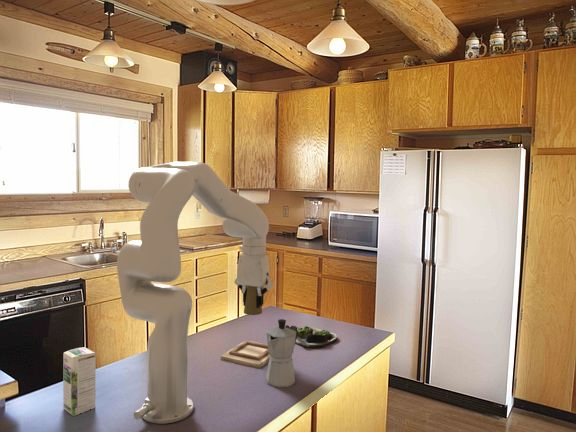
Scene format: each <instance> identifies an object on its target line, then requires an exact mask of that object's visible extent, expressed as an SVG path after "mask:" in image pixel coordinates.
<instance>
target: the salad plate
mask: <svg viewBox="0 0 576 432" xmlns="http://www.w3.org/2000/svg"><path fill="white" fill-rule="evenodd" d="M296 327H297V330H298V335H297V339H296V342H295V344H296V345H300V346H301V345H302V346H301V347H304V348H308V349H321V348H324V347H328V346H330V345H332V344H334V343H335V342H336V341H338V335H337V334H336V333H334V332H330V331H328V330H325V329H321V328H317V327H311V326H310V327H309V326H307V325H304V326H301V327H299V326H296ZM313 332H315V333H313ZM328 340H329V341H328Z"/></svg>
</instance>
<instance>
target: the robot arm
mask: <svg viewBox="0 0 576 432" xmlns="http://www.w3.org/2000/svg"><path fill="white" fill-rule="evenodd" d="M128 190H129V192H130V194H131V196H132V197H133V198H134V199H135V200H137V201H139V202H141V203H148V205H147V206H146V208H145V209H144V211H143V212H142V215H141V217H140V222H139V232H140V233H139V234H140V239H135V240H134V239H133V240H129V241H128V242H126V243H125V244H124V245H122V247H121V248H120V251H119V253H118V255H117V259H116V260H117V261H116V270H117V271H116V272H117V277H118V283H119V284H118V285H119V291H120V297H121V303H122V307H123V310H124V311H125V313H126V314H127V315H128V316H129V317H130V318H133V319H135V320H139V321H144V322H149V323H152V324H154V328H153V330H152V332H151V333H150V335H149V337H148V340H147V345H146V346H147V397H146V398H145V399H144V403H143V404H142V405H141V408H139V409H137V410H136V411H134V413H133V418H134V419H135V420H136V421H139V420H140V419H141V418H143V419H144V420H145V421H146V422H149V423H152V424H158V425H159V424H160V425H161V424H171V423H176V422H179V421H182V420H184V419H186V418H187V417H189V416H191V414H192V413H193V411H194V402H193V400H192V399H191V398H189V397H188V353H189V351H188V341H189V340H188V339H189V338H188V334H189V326H190V325H189V324H190V320H191V314H192V309H193V299H192V296H191V294H190V293H189V292H188V290H185V289H184V288H182V287H180V286H178V285H172V284H166V283H172V282H174V281H175V280H177V279H178V278H179V276H180V275H181V271H182V258H181V249H180V240H179V238H180V237H179V229H178V228H179V227H178V225H179V224H178V223H179V218H180V215H181V213H182V211H183V209H184V208H185V206H186V205H187V203H188V202H189V201H190V199H191V198H192V197H194V198H195V199H196V201H198V202H199V203H200V204H201V206H203V207H204V209H205V210H206V211H207V212H208V213H210V214H211V215H214V216H217V217H219V218H223V221H222V229H223V232H224V233H225V234H226V235H228V236H229V237H233V238H240V239H242V245H240V246H239V250H241V254H239V256H238V257H239V258H238V263H237V270H236V278H235V279H234V281H233V283H234V284H235V285H236V286H237V287H238V288H239V290H240V292H241V294H242V303H243V305H242V306H244V307H245V301H246V294H247V288H246V286H252V287H257V291H258V296H256V304H257V308H260V306H261V307H262V308H263V305H264V296H265V294H266V293H267V292H268V291H270V290H271V289H273V288H274V284H273V282H272V281H271V279H270V264H269V262H270V261H269V256H268V255H267V235H268V233H269V231H270V230H269V229H270V224H269V222H270V221H269V220H268V217H267V215H266V214H265V213H264V211H263V210H262V209H261V207H259V206H258V205H257V204H256V203H255V202H253V201H252V200H249V199H248V198H245V197H244V196H242V195H240V194H239V193H237V192H235V191H232V190H230V188H229V187H228V186H227V184H226V183H224V182H223V180H222V179H221V177H219V175H218V174H217V173H216V172H215V171H214V170H213V168H212V167H211V166H209V165H208V164H207V163H205V162H201V161H173V162H167V163H160V164H155V165H149V166H145V167H140V168H138V169H136V170H134V171H133V172H132V174H131V175H130V177H129V180H128Z"/></svg>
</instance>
